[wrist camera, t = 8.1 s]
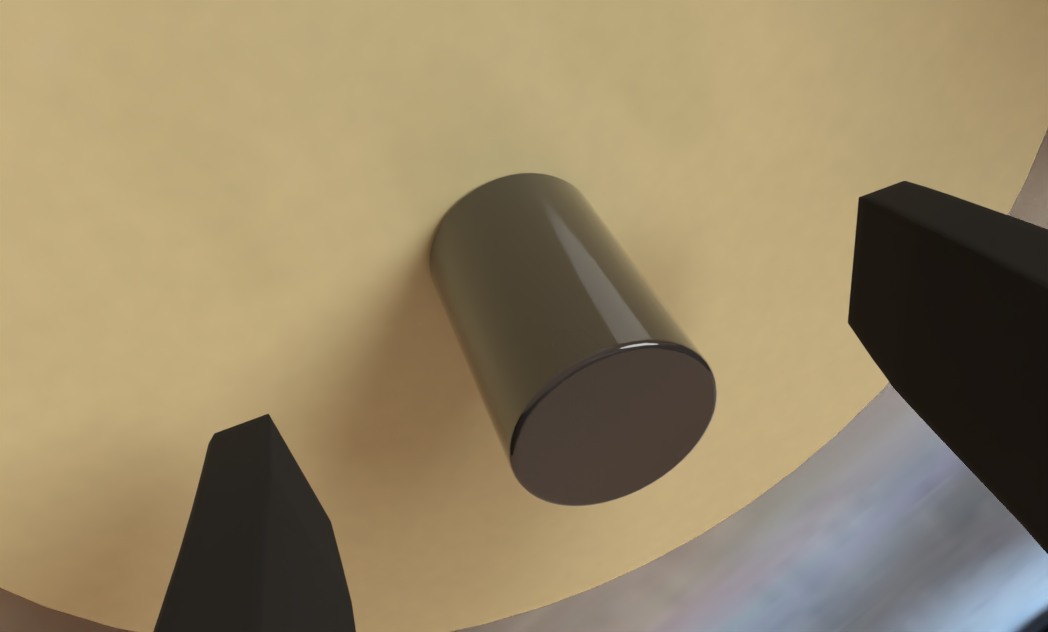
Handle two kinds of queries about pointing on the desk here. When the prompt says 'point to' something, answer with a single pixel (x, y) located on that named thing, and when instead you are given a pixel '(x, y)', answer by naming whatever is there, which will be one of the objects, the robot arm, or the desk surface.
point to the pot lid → (457, 269)
